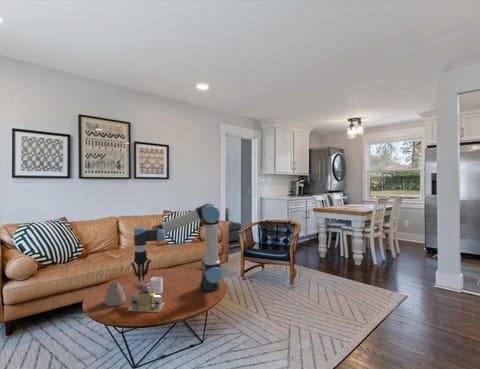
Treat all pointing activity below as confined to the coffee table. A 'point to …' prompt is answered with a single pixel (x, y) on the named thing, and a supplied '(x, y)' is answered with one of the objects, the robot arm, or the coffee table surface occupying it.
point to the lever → (141, 287)
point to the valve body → (146, 302)
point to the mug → (156, 284)
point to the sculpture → (114, 295)
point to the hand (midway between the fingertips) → (141, 285)
